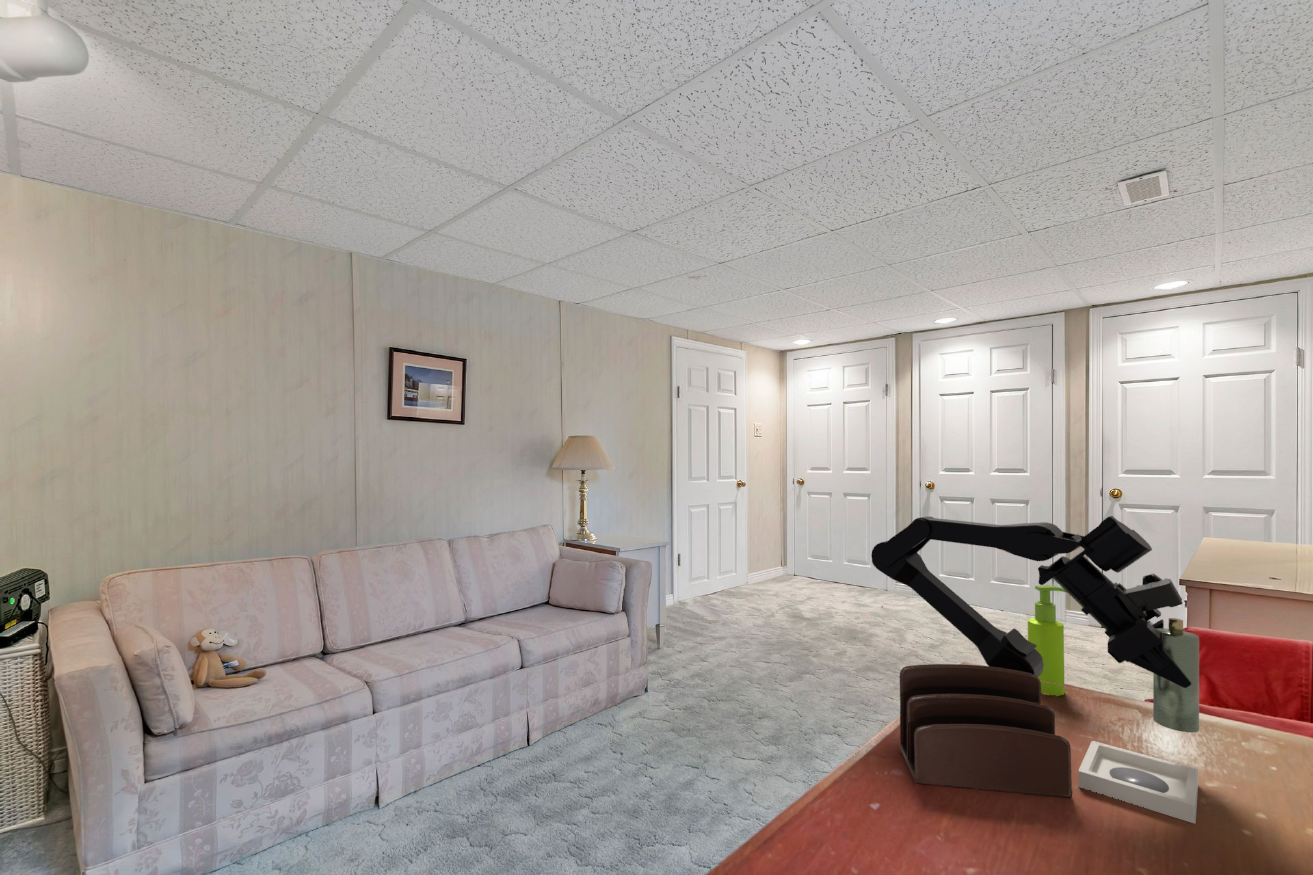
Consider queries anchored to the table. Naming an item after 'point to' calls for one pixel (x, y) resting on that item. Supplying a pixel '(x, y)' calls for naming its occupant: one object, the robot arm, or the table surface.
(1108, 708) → the table surface
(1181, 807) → the tray
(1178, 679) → the robot arm
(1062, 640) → the soap dispenser
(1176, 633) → the green bottle
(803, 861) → the table surface
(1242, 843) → the table surface
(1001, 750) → the letter holder
